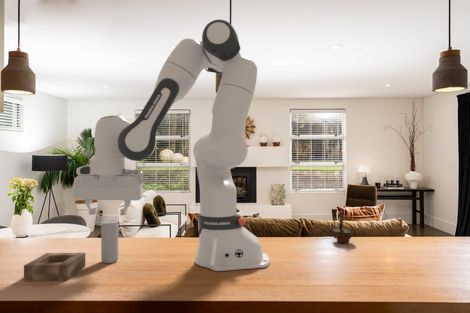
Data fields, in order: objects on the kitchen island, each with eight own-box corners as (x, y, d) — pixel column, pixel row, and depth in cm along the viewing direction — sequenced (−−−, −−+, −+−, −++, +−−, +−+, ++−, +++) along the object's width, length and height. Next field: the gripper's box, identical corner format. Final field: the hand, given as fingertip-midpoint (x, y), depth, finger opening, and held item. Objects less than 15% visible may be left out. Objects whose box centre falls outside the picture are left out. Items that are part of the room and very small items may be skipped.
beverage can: (112, 264, 98) (112, 223, 98) (97, 263, 99) (97, 223, 99) (121, 259, 103) (121, 220, 103) (107, 258, 104) (107, 220, 104)
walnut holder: (85, 266, 97) (85, 252, 97) (67, 280, 86) (67, 265, 86) (46, 266, 96) (46, 253, 96) (23, 281, 85) (23, 265, 85)
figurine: (356, 246, 118) (356, 212, 118) (333, 245, 118) (333, 212, 118) (349, 239, 127) (348, 208, 127) (327, 239, 128) (327, 207, 128)
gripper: (146, 169, 105) (144, 213, 105) (80, 168, 104) (78, 212, 104) (140, 170, 99) (139, 217, 98) (70, 168, 98) (69, 215, 98)
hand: (107, 214), depth 101 cm, fingers open, 8 cm apart
